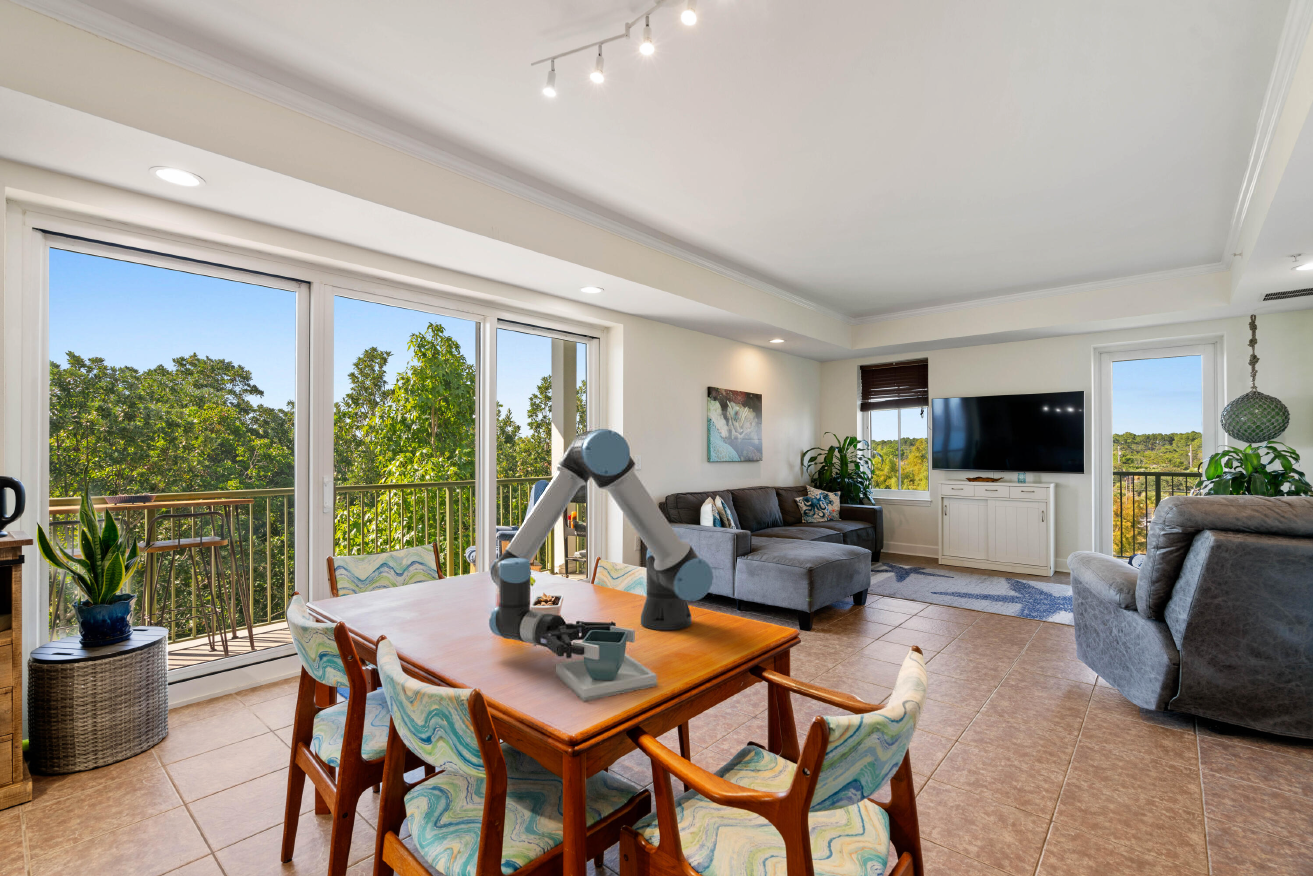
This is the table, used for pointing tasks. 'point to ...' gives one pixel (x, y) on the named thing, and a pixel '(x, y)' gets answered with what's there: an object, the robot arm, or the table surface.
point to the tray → (588, 689)
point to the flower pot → (606, 653)
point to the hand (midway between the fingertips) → (616, 644)
